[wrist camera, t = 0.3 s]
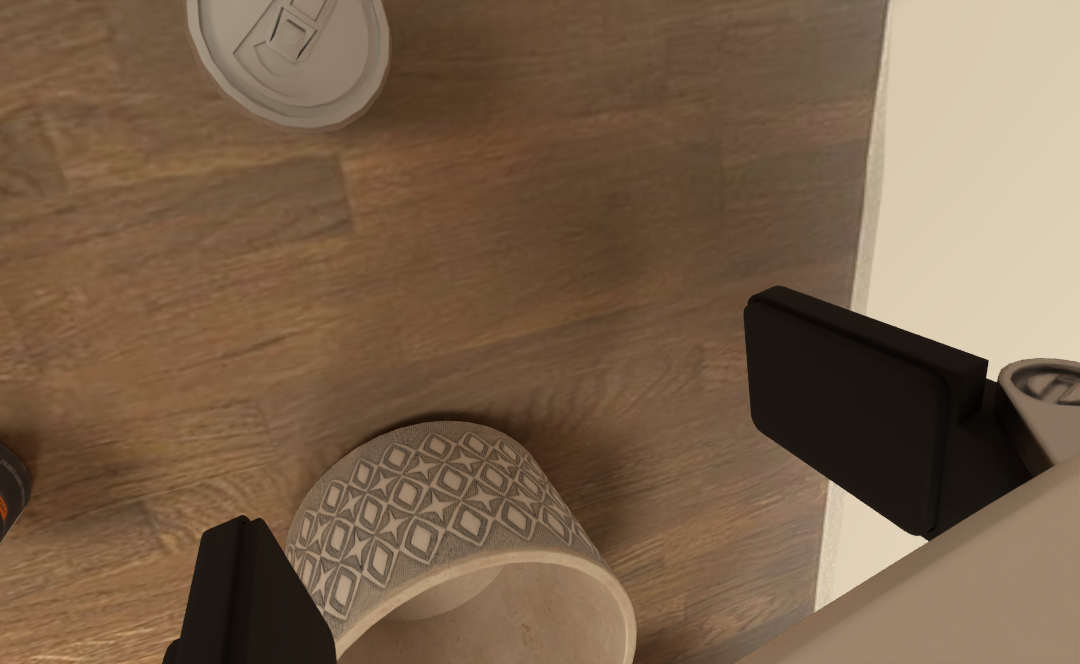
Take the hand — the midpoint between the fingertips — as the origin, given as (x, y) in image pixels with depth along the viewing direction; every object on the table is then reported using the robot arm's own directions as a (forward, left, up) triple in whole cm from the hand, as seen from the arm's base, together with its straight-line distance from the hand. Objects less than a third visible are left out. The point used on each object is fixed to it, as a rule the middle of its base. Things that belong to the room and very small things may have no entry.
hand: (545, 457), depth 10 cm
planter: (+19, -4, -22) cm, 29 cm away
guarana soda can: (-8, -1, -22) cm, 24 cm away
